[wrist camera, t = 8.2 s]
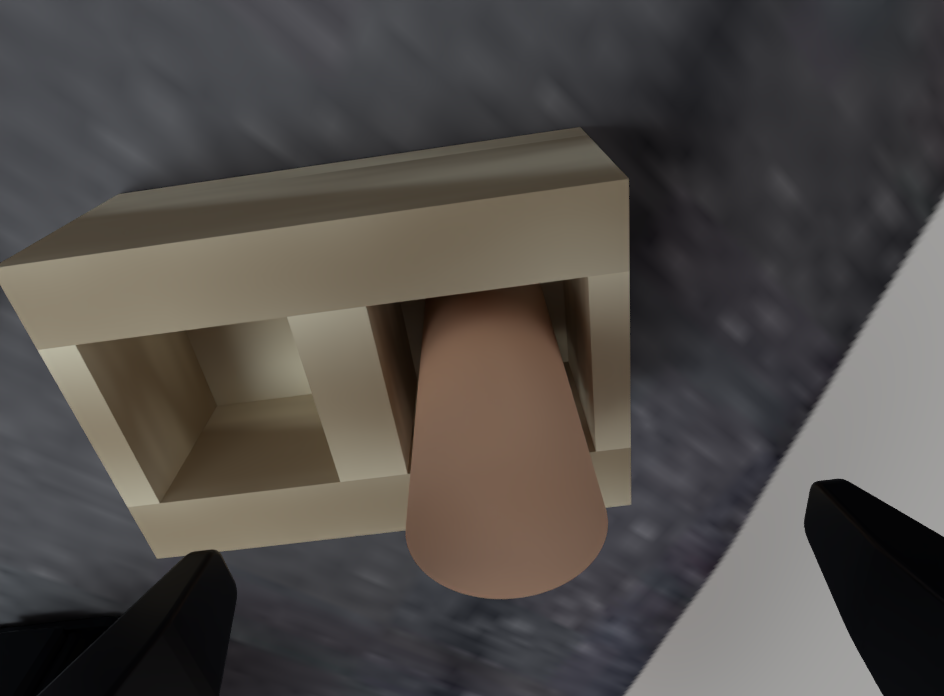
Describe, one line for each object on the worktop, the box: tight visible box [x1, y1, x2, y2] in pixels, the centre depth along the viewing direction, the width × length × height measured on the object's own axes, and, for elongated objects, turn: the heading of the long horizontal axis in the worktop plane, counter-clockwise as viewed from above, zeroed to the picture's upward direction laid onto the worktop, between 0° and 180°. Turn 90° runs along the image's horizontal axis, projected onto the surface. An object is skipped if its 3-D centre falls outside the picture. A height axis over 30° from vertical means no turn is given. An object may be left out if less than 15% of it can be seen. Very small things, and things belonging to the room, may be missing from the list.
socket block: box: [0, 127, 631, 559], centre depth 15 cm, size 8×12×5 cm, turn 98°
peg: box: [406, 283, 608, 599], centre depth 13 cm, size 3×3×8 cm
